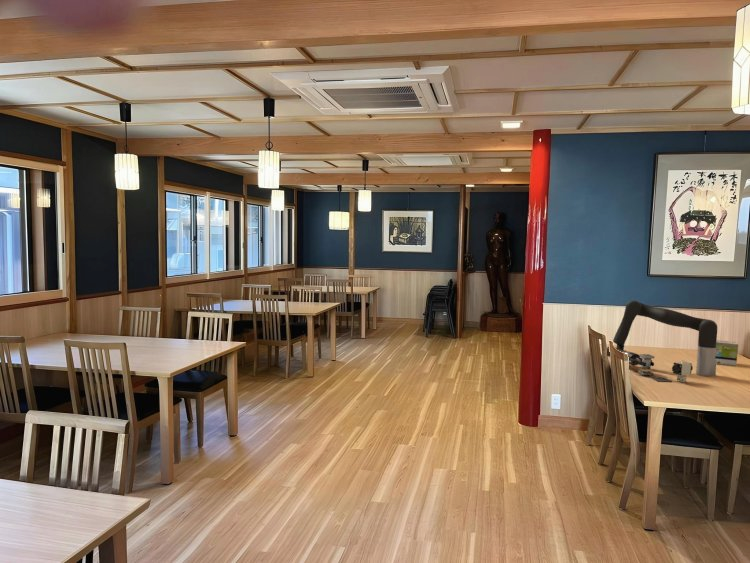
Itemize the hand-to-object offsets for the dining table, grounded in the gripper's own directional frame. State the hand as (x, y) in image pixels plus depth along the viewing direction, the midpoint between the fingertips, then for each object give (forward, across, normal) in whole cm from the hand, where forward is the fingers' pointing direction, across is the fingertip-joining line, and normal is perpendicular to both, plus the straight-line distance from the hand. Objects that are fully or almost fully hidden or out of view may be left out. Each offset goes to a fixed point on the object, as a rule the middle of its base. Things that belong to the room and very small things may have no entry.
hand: (649, 364), depth 317 cm
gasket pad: (+8, +2, +7) cm, 11 cm away
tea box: (-29, +77, +8) cm, 83 cm away
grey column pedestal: (-3, 0, +6) cm, 7 cm away
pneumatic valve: (+12, +11, +8) cm, 18 cm away
